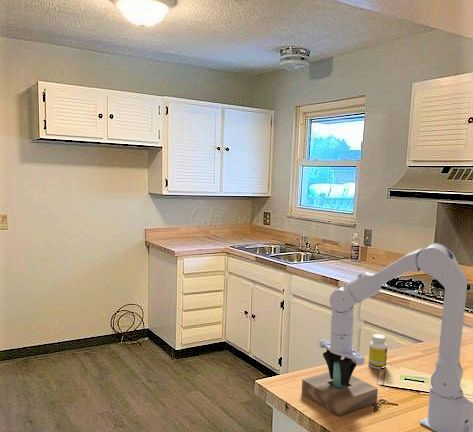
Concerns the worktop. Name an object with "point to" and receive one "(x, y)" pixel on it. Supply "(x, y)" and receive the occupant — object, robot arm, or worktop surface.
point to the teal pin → (337, 376)
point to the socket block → (339, 394)
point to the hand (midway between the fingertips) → (339, 381)
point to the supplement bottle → (377, 351)
